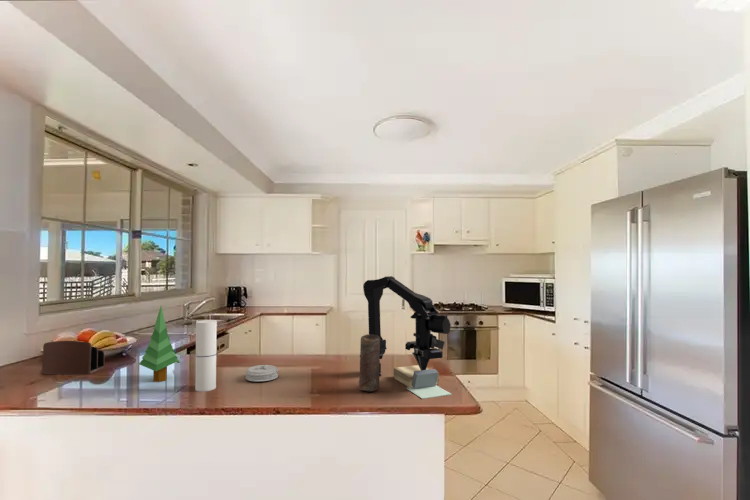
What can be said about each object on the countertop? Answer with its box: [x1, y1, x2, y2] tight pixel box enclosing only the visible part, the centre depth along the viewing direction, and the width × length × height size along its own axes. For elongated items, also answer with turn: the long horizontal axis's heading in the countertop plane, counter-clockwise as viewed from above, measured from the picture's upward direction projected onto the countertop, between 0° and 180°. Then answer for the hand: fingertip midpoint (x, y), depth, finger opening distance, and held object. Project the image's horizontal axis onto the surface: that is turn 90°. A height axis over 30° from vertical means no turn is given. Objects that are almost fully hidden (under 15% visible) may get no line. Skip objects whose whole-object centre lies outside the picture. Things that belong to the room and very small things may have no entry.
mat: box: [406, 384, 452, 400], centre depth 147 cm, size 12×12×1 cm
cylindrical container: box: [194, 319, 218, 393], centre depth 151 cm, size 7×7×25 cm
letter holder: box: [41, 340, 105, 375], centre depth 173 cm, size 10×20×14 cm, turn 92°
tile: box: [412, 368, 439, 389], centre depth 151 cm, size 9×6×2 cm
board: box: [393, 364, 440, 388], centre depth 160 cm, size 13×14×4 cm
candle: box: [358, 333, 380, 393], centre depth 149 cm, size 8×7×20 cm
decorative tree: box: [138, 305, 182, 383], centre depth 161 cm, size 14×16×30 cm
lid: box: [245, 364, 279, 382], centre depth 163 cm, size 13×13×5 cm
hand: (423, 372), depth 152 cm, fingers closed
